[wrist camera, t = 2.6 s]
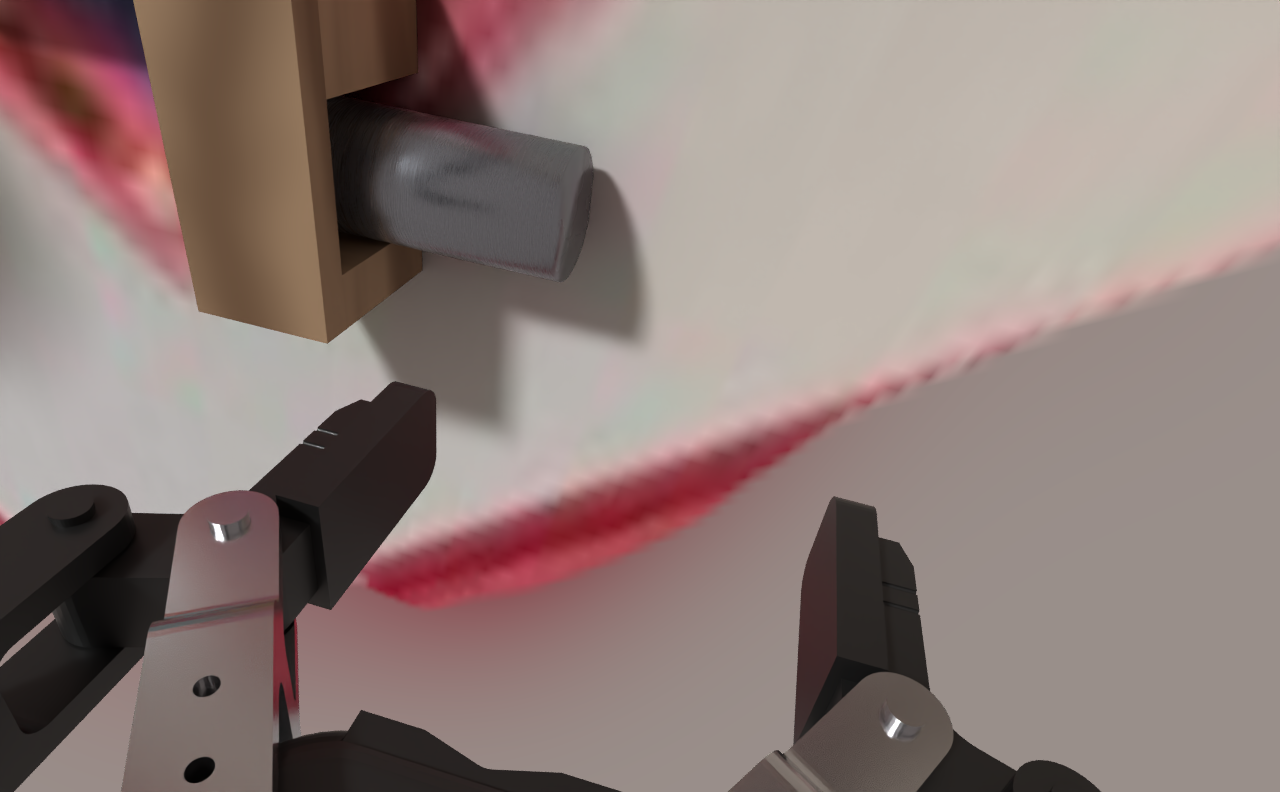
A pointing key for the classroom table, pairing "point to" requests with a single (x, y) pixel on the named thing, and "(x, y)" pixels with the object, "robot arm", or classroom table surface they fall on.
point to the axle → (459, 188)
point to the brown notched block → (273, 151)
